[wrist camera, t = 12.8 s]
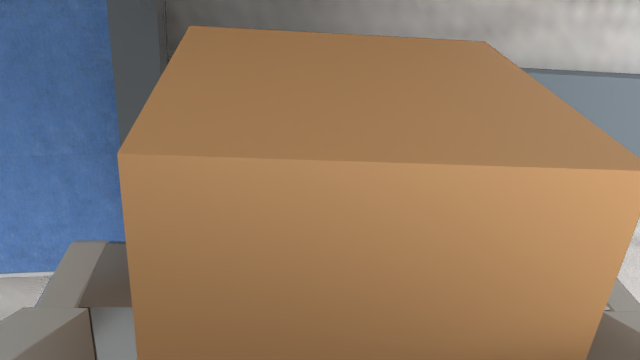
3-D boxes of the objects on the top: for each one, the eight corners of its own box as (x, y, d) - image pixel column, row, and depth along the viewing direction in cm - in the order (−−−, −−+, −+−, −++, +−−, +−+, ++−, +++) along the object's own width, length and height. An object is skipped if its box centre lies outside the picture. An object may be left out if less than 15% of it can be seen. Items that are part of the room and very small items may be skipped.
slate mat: (398, 268, 25) (401, 277, 24) (431, 63, 21) (435, 67, 20) (599, 273, 25) (605, 282, 25) (669, 75, 21) (679, 81, 21)
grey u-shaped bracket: (138, 367, 26) (84, 548, 19) (91, -108, 17) (-43, -102, 10) (394, 369, 27) (434, 543, 20) (472, -80, 18) (591, -56, 11)
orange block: (197, 273, 12) (152, 513, 7) (189, 25, 9) (117, 153, 5) (437, 276, 12) (531, 502, 8) (484, 41, 10) (657, 171, 6)
